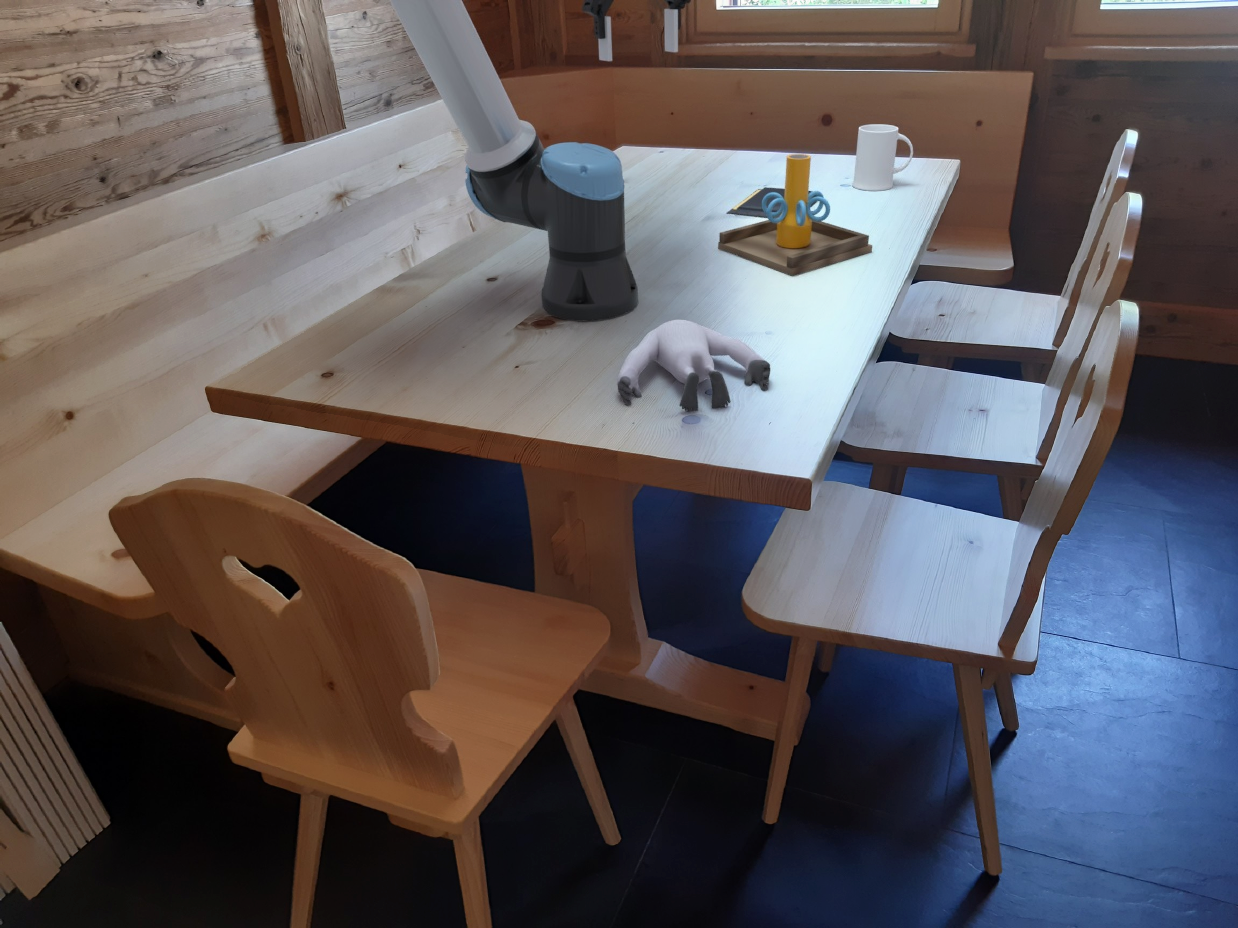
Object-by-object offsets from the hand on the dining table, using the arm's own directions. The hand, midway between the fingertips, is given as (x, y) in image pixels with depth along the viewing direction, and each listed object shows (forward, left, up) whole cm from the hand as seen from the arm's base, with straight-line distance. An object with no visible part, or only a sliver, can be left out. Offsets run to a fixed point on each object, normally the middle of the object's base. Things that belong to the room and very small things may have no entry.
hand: (639, 56), depth 153 cm
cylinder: (+17, -22, -31) cm, 41 cm away
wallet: (+35, +2, -33) cm, 48 cm away
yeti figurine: (-29, -50, -32) cm, 67 cm away
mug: (+61, -3, -32) cm, 69 cm away
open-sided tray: (+17, -22, -32) cm, 42 cm away
